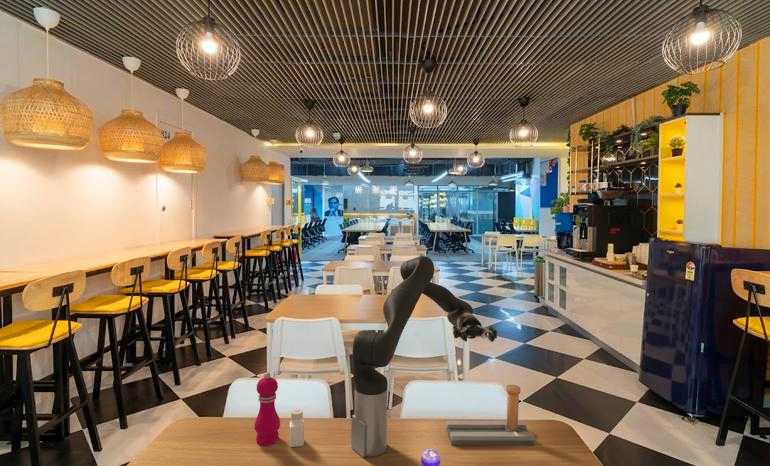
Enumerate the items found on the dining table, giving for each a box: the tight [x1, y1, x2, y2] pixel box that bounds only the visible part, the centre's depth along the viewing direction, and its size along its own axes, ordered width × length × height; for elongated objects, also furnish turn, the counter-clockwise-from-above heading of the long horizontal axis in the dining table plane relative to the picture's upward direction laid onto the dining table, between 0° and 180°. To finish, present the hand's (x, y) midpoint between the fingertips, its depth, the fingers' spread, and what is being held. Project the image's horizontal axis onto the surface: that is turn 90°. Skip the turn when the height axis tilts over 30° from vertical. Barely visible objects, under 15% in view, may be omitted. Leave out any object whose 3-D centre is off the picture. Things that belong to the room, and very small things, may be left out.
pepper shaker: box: [289, 408, 305, 448], centre depth 123 cm, size 4×4×10 cm
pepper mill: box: [254, 372, 281, 446], centre depth 125 cm, size 7×7×20 cm
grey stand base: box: [446, 420, 536, 446], centre depth 128 cm, size 24×9×3 cm, turn 91°
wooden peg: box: [504, 384, 521, 432], centre depth 128 cm, size 4×4×14 cm
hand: (479, 338), depth 139 cm, fingers open, 8 cm apart
